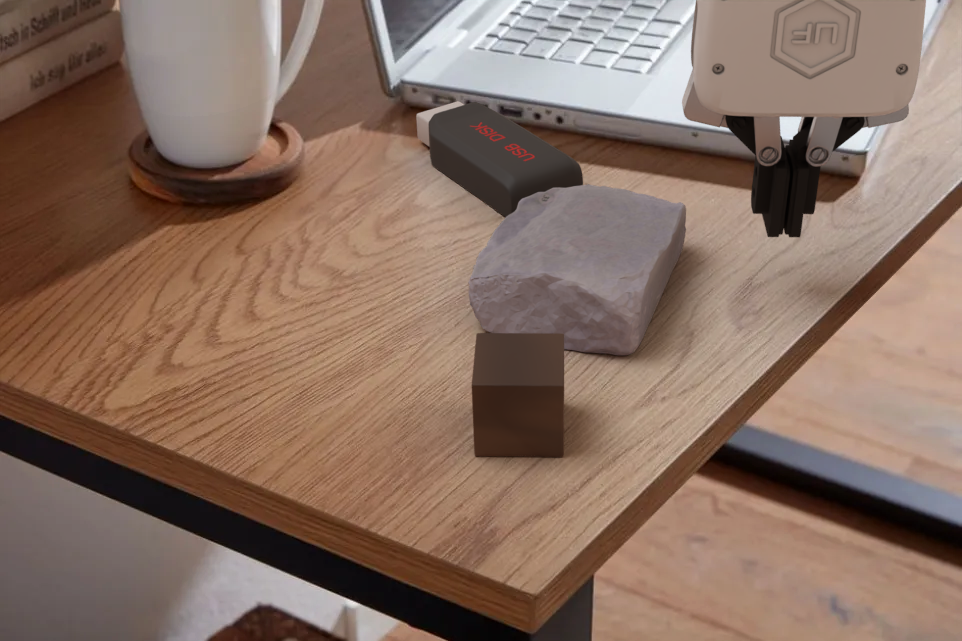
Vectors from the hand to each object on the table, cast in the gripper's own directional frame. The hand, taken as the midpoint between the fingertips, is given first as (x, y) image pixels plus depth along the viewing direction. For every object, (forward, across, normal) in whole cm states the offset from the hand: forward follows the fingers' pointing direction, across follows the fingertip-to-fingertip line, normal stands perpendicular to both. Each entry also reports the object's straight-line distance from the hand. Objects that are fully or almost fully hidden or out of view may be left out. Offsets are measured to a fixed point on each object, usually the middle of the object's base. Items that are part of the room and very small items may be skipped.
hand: (780, 223), depth 68 cm
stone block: (+4, -10, 0) cm, 11 cm away
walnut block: (+4, -13, -12) cm, 18 cm away
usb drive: (+4, -16, +14) cm, 21 cm away
